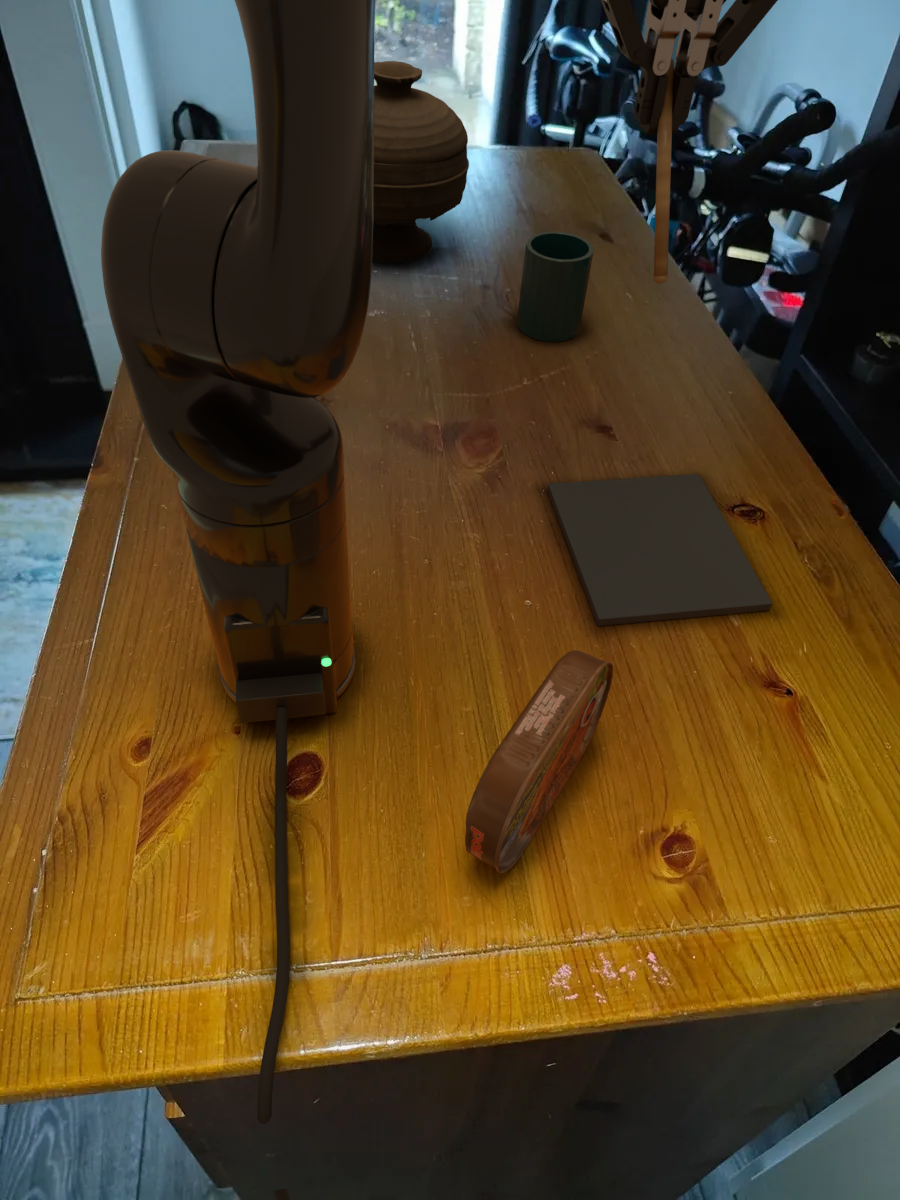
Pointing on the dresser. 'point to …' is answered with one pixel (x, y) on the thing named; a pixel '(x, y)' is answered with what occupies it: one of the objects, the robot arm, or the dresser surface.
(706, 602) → the mat
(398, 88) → the pot
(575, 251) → the cup
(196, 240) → the robot arm
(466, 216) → the dresser surface
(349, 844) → the dresser surface
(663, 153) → the stirring stick
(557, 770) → the tin
